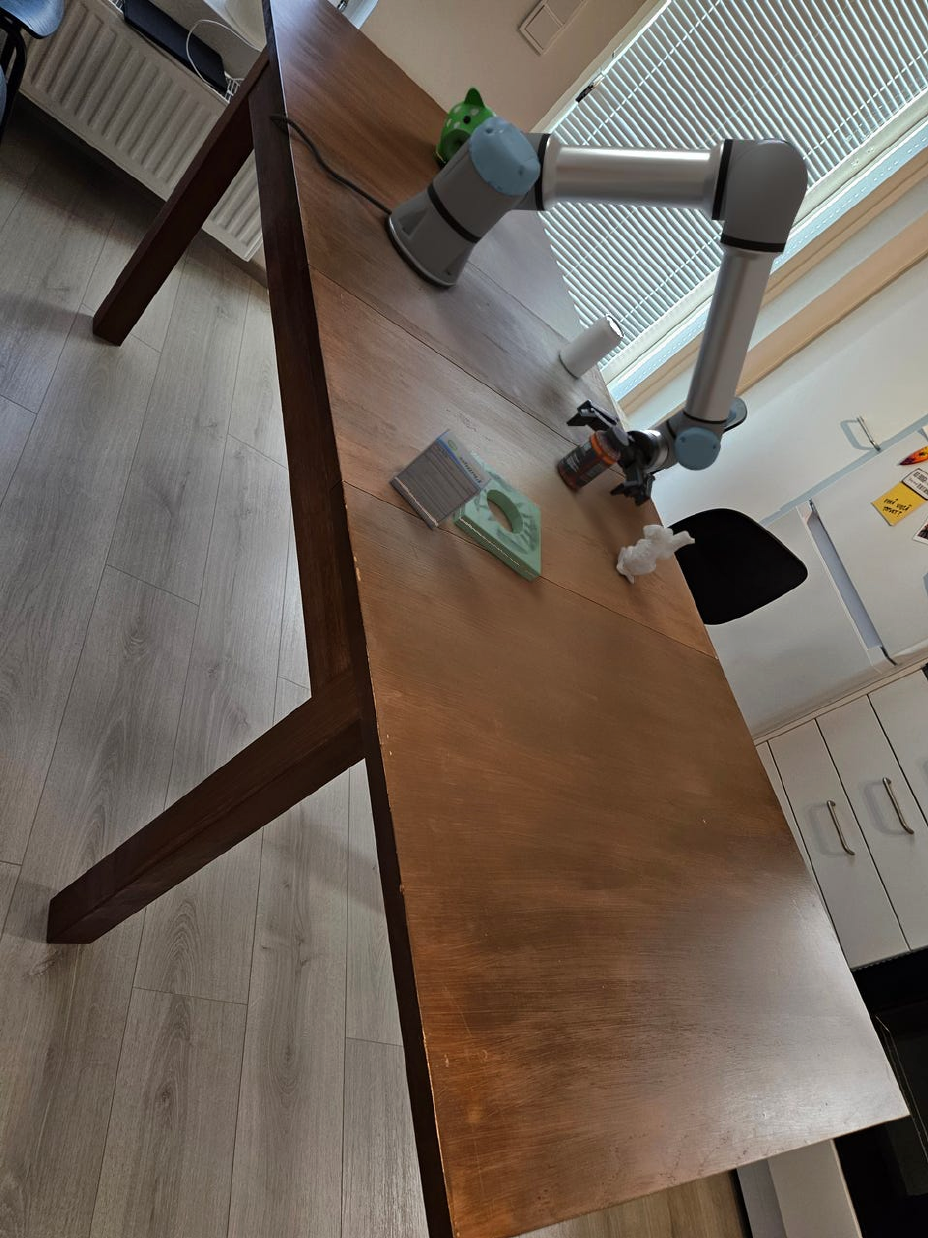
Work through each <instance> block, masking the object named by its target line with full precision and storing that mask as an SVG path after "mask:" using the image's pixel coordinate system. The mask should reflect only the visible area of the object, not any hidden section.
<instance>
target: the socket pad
mask: <svg viewBox="0 0 928 1238" xmlns="http://www.w3.org/2000/svg"><path fill="white" fill-rule="evenodd" d="M469 451H470V453H471V454H472V455H473V456H474V457H475V459H476V460H477V461H478V462H479V463H480V465H481V466H482V467H483V468H484V469H485V471H486V472H487V473H488V474H489V475H490V477H491V481H490V482H489V483H488V484H487V485H486V487H485V488H484V489H483V490H482V491H481V492H480V493H479V494H478V495H476V496H475V497H474V498H473V499H471V500H470V501H469V502H468V503H466V504H465V505H464V506H463V507H461V515H460V509H459V510H458V511H456V512H455V513H454V519H453V522H454V525H456V526H457V527H458V528H459V529H461V530H462V531H464V533H466V534H467V535H468V536H470V537H471V538H473V539H474V540H475V541H476V542H477V543H479V544H480V545H482V546H483V547H484V548H485V549H487V550H488V551H489V552H491V553H492V554H493V555H494V556H496V557H497V558H498V559H499V560H501V561H502V562H503V563H505V564H506V565H507V566H509V567H510V568H511V569H513V571H515V572H516V573H517V574H519V575H520V576H522V577H523V578H524V579H526V580H527V581H528V582H530V583H531V582H532V581H534V580H535V579H536V578H534V577H533V576H532V575H530V574H529V573H528V572H526V571H525V570H524V569H523V568H525V569H526V570H527V571H529V572H530V573H531V574H533V575H534V576H535V577H537V578H539V577H540V576H541V575H542V555H541V554H542V545H541V544H542V543H541V542H542V541H541V539H542V538H541V537H542V535H541V534H542V533H541V532H542V531H541V529H542V527H541V525H542V524H541V508H540V507H538V506H537V505H536V504H535V503H534V502H532V501H531V500H530V498H528V497H527V496H525V494H523V493H522V492H521V491H519V489H517V488H516V487H515V486H514V485H513V484H511V483H510V482H509V481H508V480H506V479H505V478H504V477H503V476H502V475H501V474H500V473H498V472H497V471H496V470H495V469H493V467H491V466H490V465H489V464H488V463H487V462H485V461H484V460H483V459H482V458H480V457H479V456H478V455H477V454H476V453H475V452H474V451H472V450H469ZM488 500H489V501H492V502H493V503H494V504H496V505H497V506H498V507H499V508H500V509H501V510H502V511H503V512H504V514H505V516H506V518H507V519H508V520H509V522H510V525H511V528H512V531H509V530H507V529H506V528H505V527H504V526H503V525H501V524H500V523H499V522H498V520H497V519H496V518H495V516H494V514H493V512H492V510H491V509H490V506H489V504H488ZM459 516H461V519H463V520H464V521H465V522H467V523H468V524H470V525H471V526H472V528H474V529H475V530H476V531H478V532H479V533H480V534H481V535H482V536H484V537H485V538H486V539H487V540H488V541H490V542H491V543H492V544H493V545H495V546H496V547H497V548H499V549H500V550H502V552H503V553H505V554H506V555H507V556H508V557H507V556H506V555H505V554H503V553H502V552H501V551H500V550H498V549H497V548H496V547H495V546H493V545H492V544H491V543H489V542H488V541H487V540H486V539H484V538H483V537H482V536H480V535H479V534H478V533H477V532H475V531H474V530H473V529H471V528H470V527H469V526H468V525H466V524H465V523H464V522H463V521H461V520H460V519H459ZM510 558H511V559H512V560H513V561H512V560H511V559H510ZM514 561H515V562H516V563H518V564H519V565H520V566H522V567H523V568H521V567H520V566H519V565H518V564H516V563H515V562H514Z"/></svg>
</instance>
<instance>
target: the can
mask: <svg viewBox="0 0 928 1238" xmlns="http://www.w3.org/2000/svg"><path fill="white" fill-rule="evenodd" d="M625 336H626V335H625V332H624V330H623V328H622V326H621V325H620V324H619V322H618V321H617V320H616V319H615V318H614V317H613V316H612V315H611V314H608V313H607V314H606V315H605V316H602V317H599V318H597V319H596V320H595V321H594V322H593V323H592V324H590V326H588V327H587V328H586V329H585V330H584V331H583V332H581V333H580V334H579V335H578V336H577V337H576V338H574V339H573V340H572V341H571V342H570V343H569V344H568V345H567V346H566V347H564V348H563V349H562V350H561V351H560V354H559V358H560V361H561V363H562V365H563V367H564V368H565V369H566V371H568V373H569V374H570V375H571V376H573V377H574V378H581V377H582V376H583V375H585V374H586V373H587V372H588V371H590V370H591V369H592V368H593V367H594V366H596V365H597V364H598V363H600V362H601V361H602V360H603V359H604V358H605V357H606V356H607V355H609V354H610V353H612V351H614V350H615V349H616V348H617V347H618V346H620V344H621V343H622V341H623V339H624V338H626V337H625Z"/></svg>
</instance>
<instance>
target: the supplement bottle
mask: <svg viewBox="0 0 928 1238" xmlns="http://www.w3.org/2000/svg"><path fill="white" fill-rule="evenodd" d="M617 426H618V425H617ZM617 426H612V427H611V428H610V429H608V430H607V431H597V432H595V431H594V432H593V433H592V435H589V437H587V438H586V439H585V440H584V441H582V442H581V443H580V444H579V445H577V446H576V447H574V449H572V450H571V451H570V452H568V453H567V454H566V455H565V456H563V457H562V458H561V459H560V460H559V461H558V462H557V468H558V472H559V474H560V476H561V477H562V479H563V481H565V483H566V484H567V485H568V486H569V487H571V488H573V489H575V490H581V489H582V488H585V487H586V486H587V485H588V484H589V483H591V482H592V481H593V480H595V479H596V478H597V477H599V476H600V475H601V474H603V473H604V472H605V471H607V470H608V469H609V468H610V467H612V466H614V465H615V464H616V463H617V461H618V460H619V458H620V451H621V450H623V449H624V448H625V447H627V446H628V439H627V437H626V436H625V434H624V433H623V432H622V430H623V429H621V428H620V427H619V426H618V427H617Z"/></svg>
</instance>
